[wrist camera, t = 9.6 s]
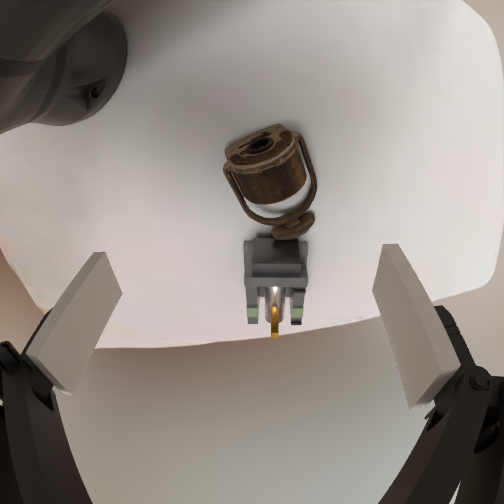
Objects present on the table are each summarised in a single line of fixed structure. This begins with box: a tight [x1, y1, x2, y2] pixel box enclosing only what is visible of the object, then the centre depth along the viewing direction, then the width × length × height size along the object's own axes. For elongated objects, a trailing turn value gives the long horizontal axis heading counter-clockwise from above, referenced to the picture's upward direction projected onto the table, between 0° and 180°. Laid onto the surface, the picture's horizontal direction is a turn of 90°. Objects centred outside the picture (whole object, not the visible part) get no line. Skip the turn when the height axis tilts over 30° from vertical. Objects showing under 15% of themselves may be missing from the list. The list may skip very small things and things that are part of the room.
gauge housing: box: [243, 241, 308, 325], centre depth 33 cm, size 8×8×7 cm
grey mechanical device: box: [251, 238, 301, 337], centre depth 32 cm, size 10×5×8 cm, turn 2°
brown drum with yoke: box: [223, 124, 317, 240], centre depth 27 cm, size 7×13×10 cm
